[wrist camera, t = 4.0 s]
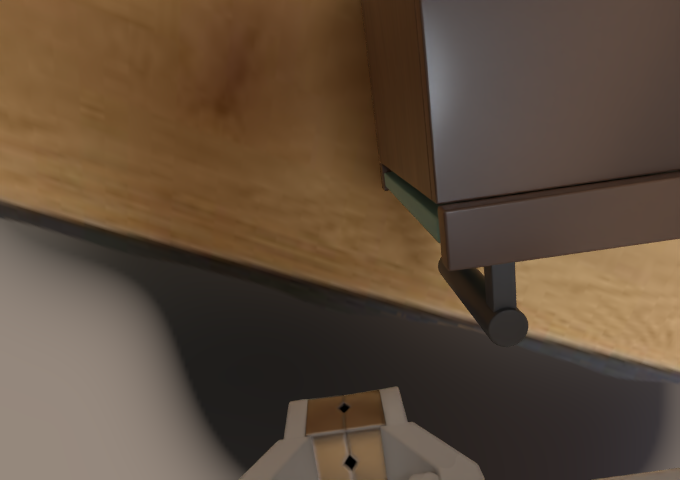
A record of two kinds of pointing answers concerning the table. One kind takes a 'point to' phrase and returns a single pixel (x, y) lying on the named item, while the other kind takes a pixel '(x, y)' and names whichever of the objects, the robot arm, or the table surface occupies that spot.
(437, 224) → the green sliding door
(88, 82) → the table surface
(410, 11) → the brown wooden cabinet
